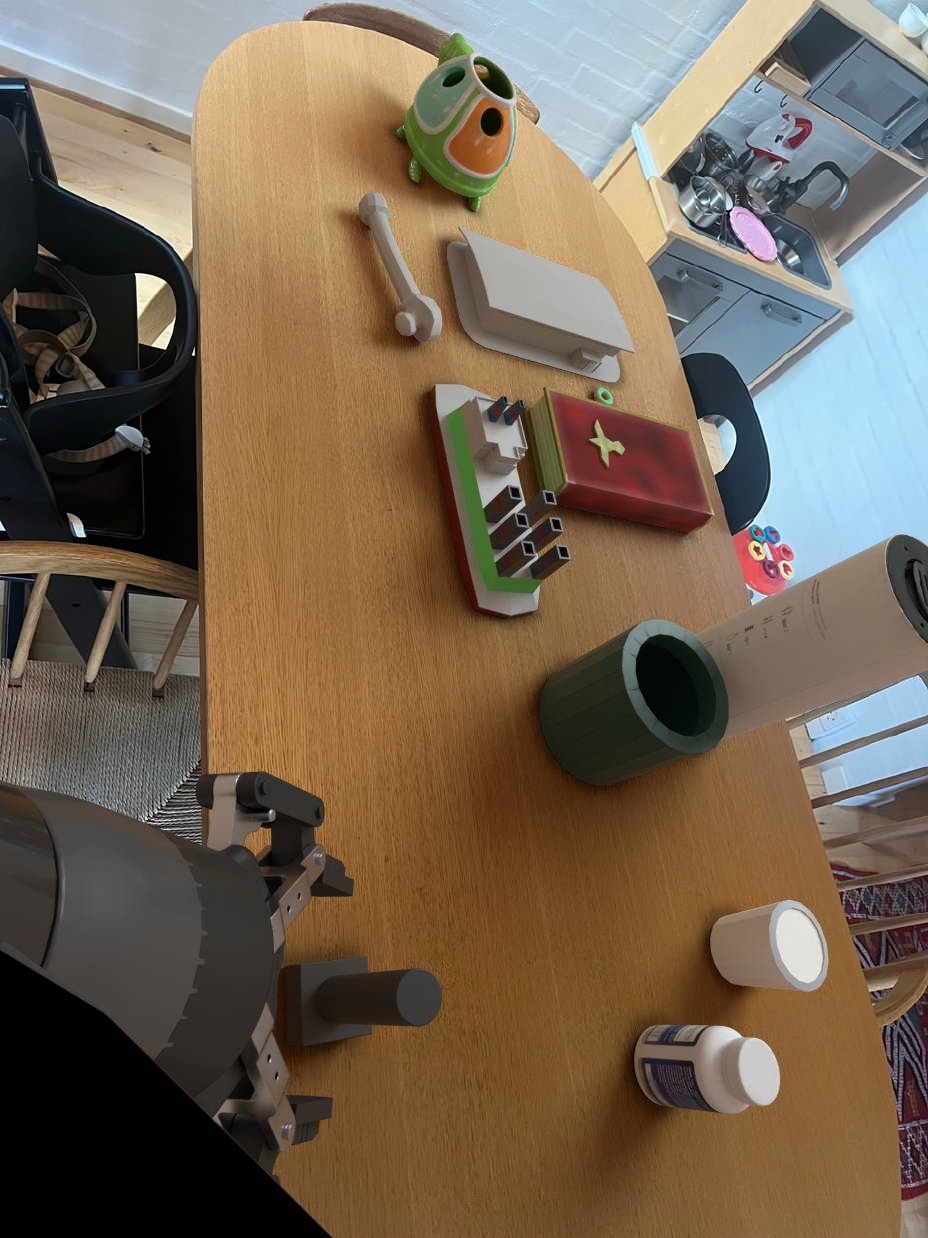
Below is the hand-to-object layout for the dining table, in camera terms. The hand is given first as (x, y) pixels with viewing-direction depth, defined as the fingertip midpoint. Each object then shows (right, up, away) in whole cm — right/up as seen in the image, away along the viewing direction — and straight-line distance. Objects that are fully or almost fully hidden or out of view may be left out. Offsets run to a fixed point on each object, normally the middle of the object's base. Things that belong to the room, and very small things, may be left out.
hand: (323, 990), depth 34 cm
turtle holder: (+3, +71, +59) cm, 93 cm away
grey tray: (+15, +52, +57) cm, 78 cm away
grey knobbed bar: (-1, +51, +46) cm, 69 cm away
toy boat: (+8, +28, +40) cm, 49 cm away
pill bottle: (+21, -18, +25) cm, 38 cm away
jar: (+18, +7, +36) cm, 40 cm away
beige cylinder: (+28, +8, +43) cm, 52 cm away
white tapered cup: (+30, -13, +34) cm, 47 cm away
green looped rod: (+25, +41, +58) cm, 75 cm away
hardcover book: (+22, +32, +52) cm, 65 cm away
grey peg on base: (-3, -8, +15) cm, 17 cm away
